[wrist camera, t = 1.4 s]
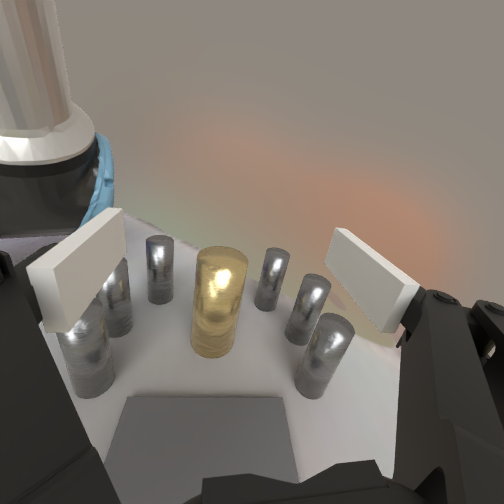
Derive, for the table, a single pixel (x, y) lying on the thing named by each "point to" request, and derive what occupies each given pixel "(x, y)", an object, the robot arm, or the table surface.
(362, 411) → the table surface
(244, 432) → the mat
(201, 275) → the brass canister
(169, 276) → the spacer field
